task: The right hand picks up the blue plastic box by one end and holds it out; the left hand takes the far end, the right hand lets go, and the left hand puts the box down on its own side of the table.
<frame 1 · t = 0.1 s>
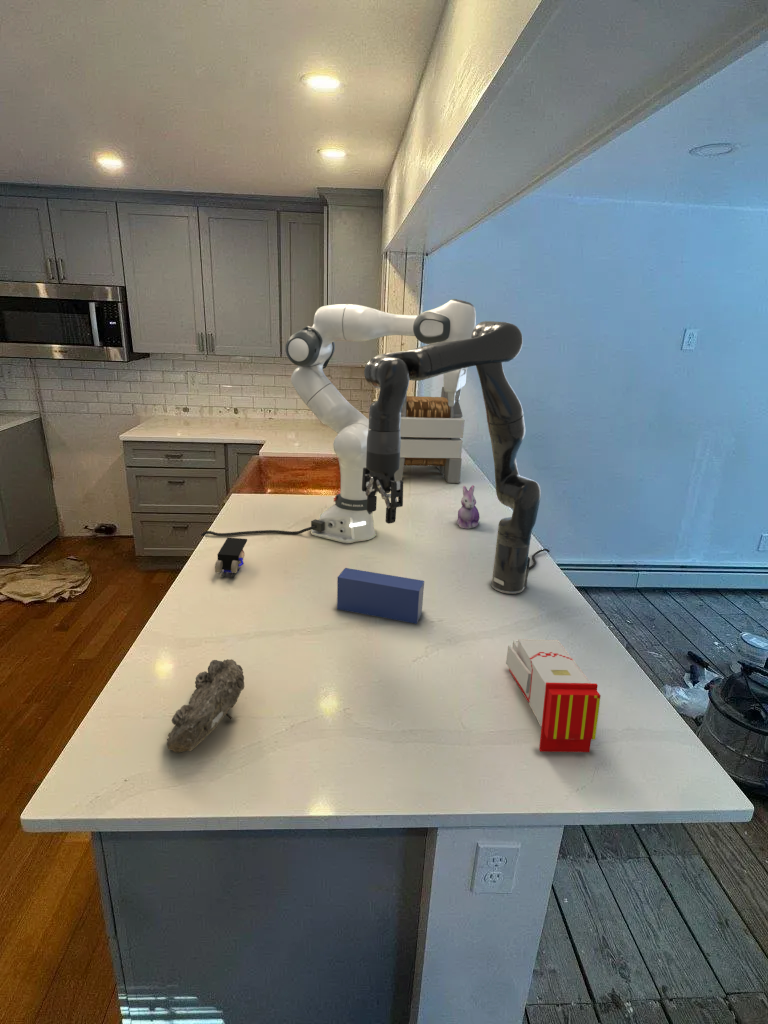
left hand: (453, 403, 174), 48 cm above the counter, tool pointing down, fingers open, 8 cm apart
right hand: (380, 516, 132), 29 cm above the counter, tool pointing down, fingers open, 8 cm apart
box: (379, 611, 149), on the counter
toy: (542, 703, 116), on the counter
fossil: (212, 717, 108), on the counter
figurine: (467, 525, 211), on the counter
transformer: (419, 473, 275), on the counter
figurine character: (232, 569, 168), on the counter
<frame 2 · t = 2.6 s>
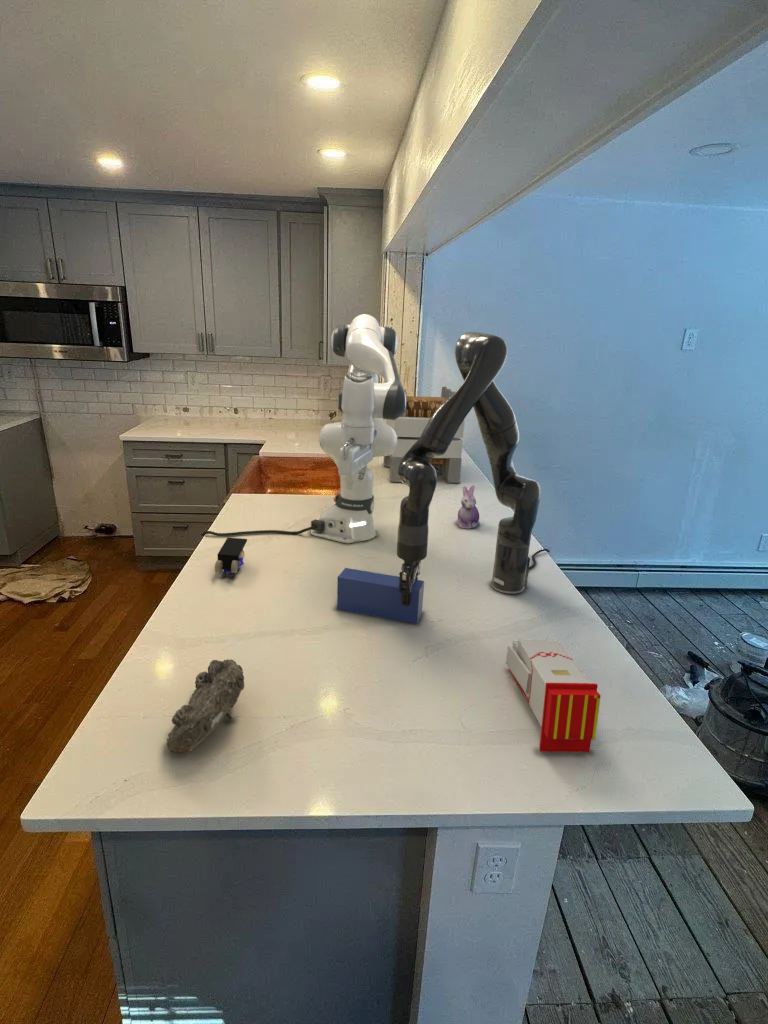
left hand: (356, 484, 157), 29 cm above the counter, tool pointing down, fingers open, 8 cm apart
right hand: (408, 598, 145), 5 cm above the counter, tool pointing down, fingers closed on box, 6 cm apart
box: (379, 611, 149), on the counter, touching right hand
everything else where it was.
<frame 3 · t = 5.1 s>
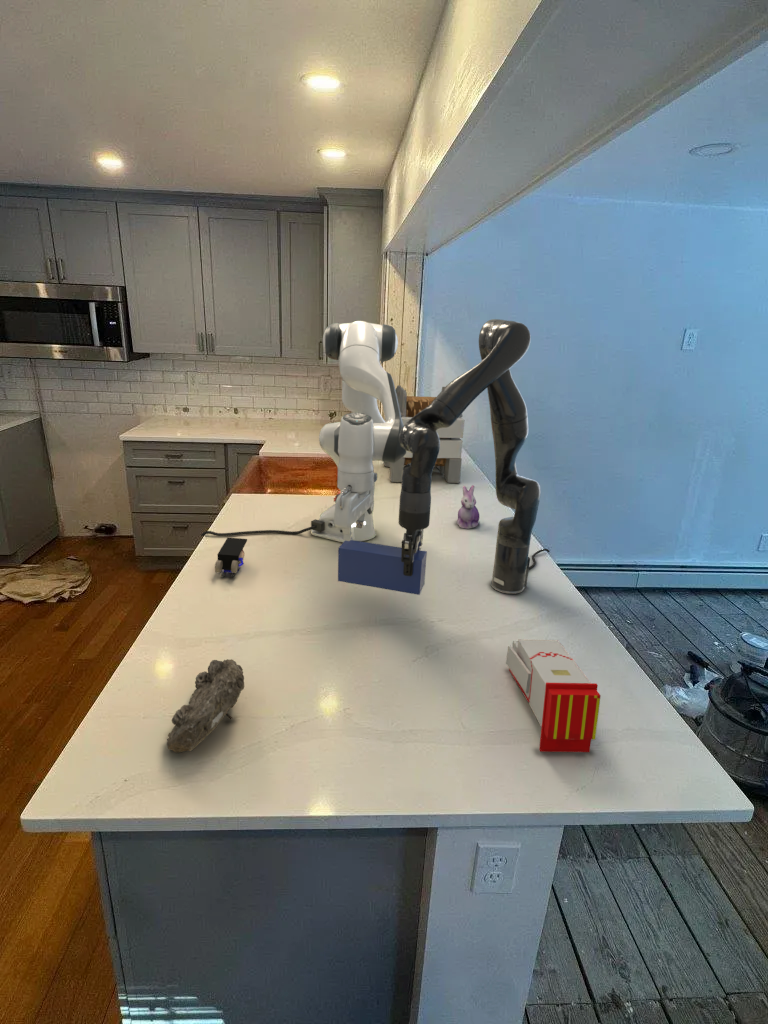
left hand: (353, 533, 143), 21 cm above the counter, tool pointing down, fingers open, 8 cm apart
right hand: (411, 569, 142), 13 cm above the counter, tool pointing down, fingers closed on box, 6 cm apart
box: (381, 582, 146), point 8 cm above the counter, touching right hand
everything else where it was.
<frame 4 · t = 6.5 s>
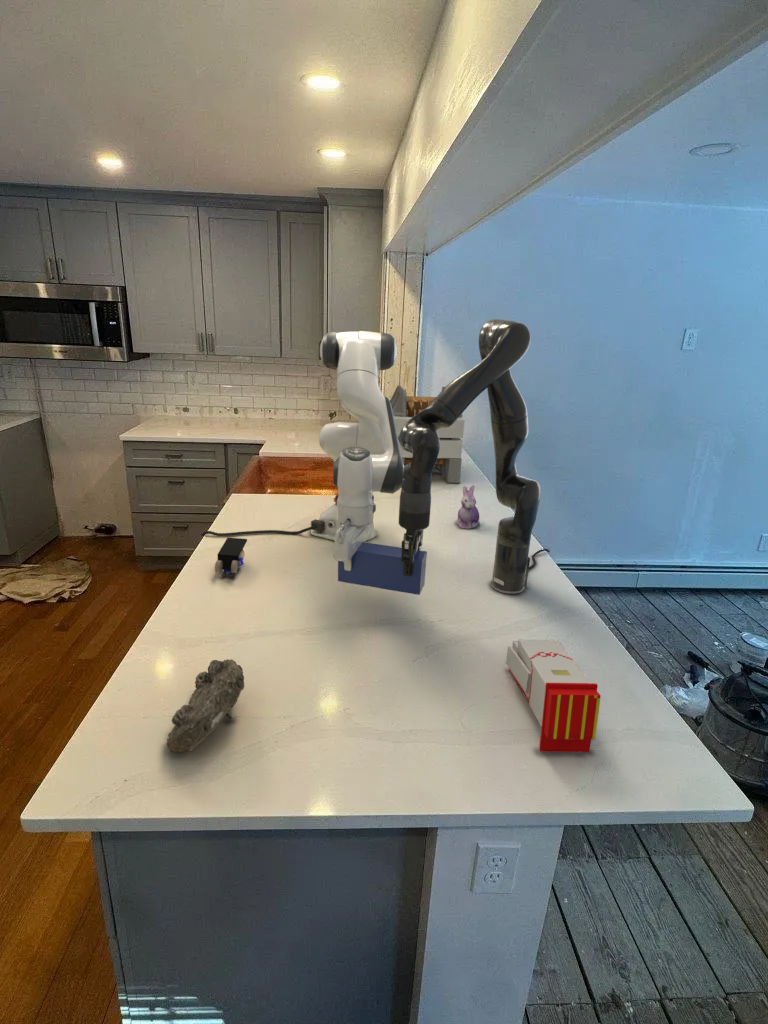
left hand: (353, 563, 146), 12 cm above the counter, tool pointing down, fingers closed on box, 6 cm apart
right hand: (411, 569, 142), 13 cm above the counter, tool pointing down, fingers closed on box, 6 cm apart
box: (381, 583, 146), point 8 cm above the counter, touching left hand, right hand
everything else where it was.
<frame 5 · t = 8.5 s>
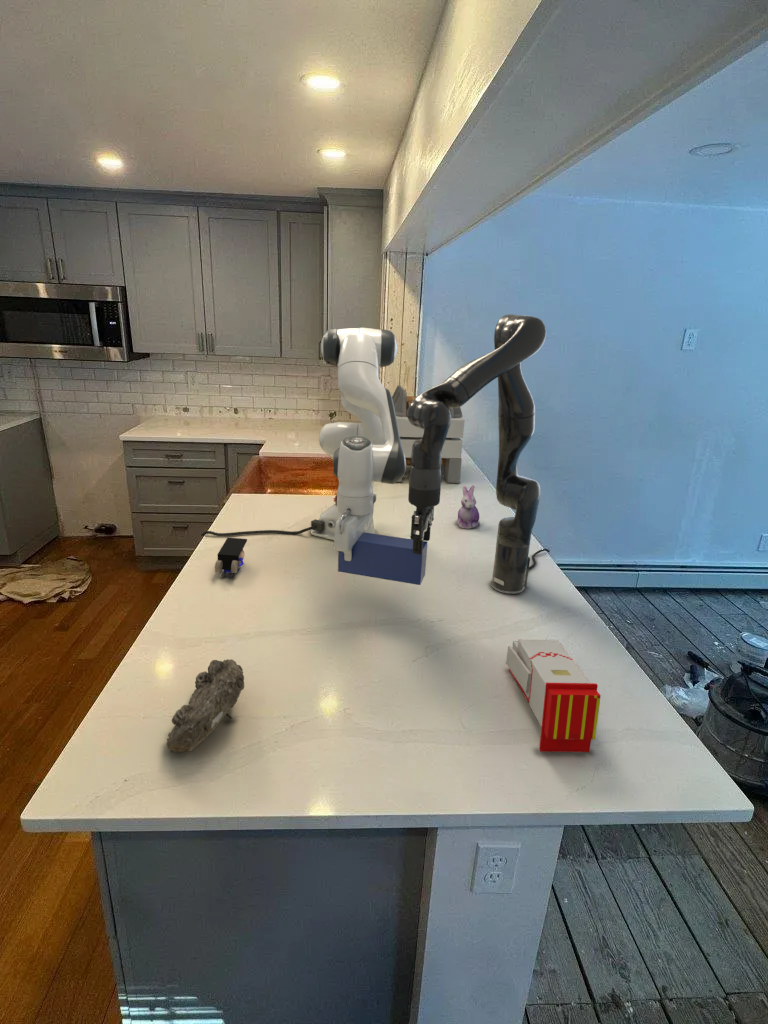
left hand: (353, 554, 145), 15 cm above the counter, tool pointing down, fingers closed on box, 6 cm apart
right hand: (421, 546, 140), 20 cm above the counter, tool pointing down, fingers open, 8 cm apart
box: (381, 573, 145), point 11 cm above the counter, touching left hand
everything else where it was.
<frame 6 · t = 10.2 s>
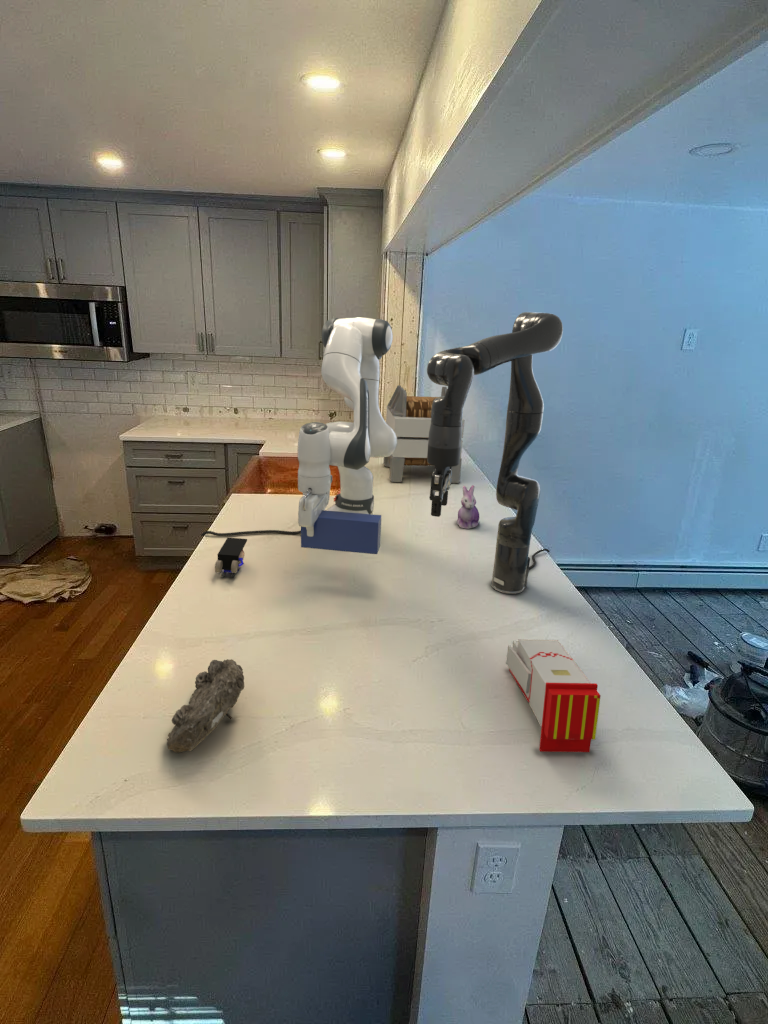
left hand: (314, 530, 159), 15 cm above the counter, tool pointing down, fingers closed on box, 6 cm apart
right hand: (439, 510, 135), 30 cm above the counter, tool pointing down, fingers open, 8 cm apart
box: (341, 546, 159), point 11 cm above the counter, touching left hand
everything else where it was.
when the left hand's fingers open (6 cm above the counter, at t = 11.8 s): box drops 1 cm, on the counter.
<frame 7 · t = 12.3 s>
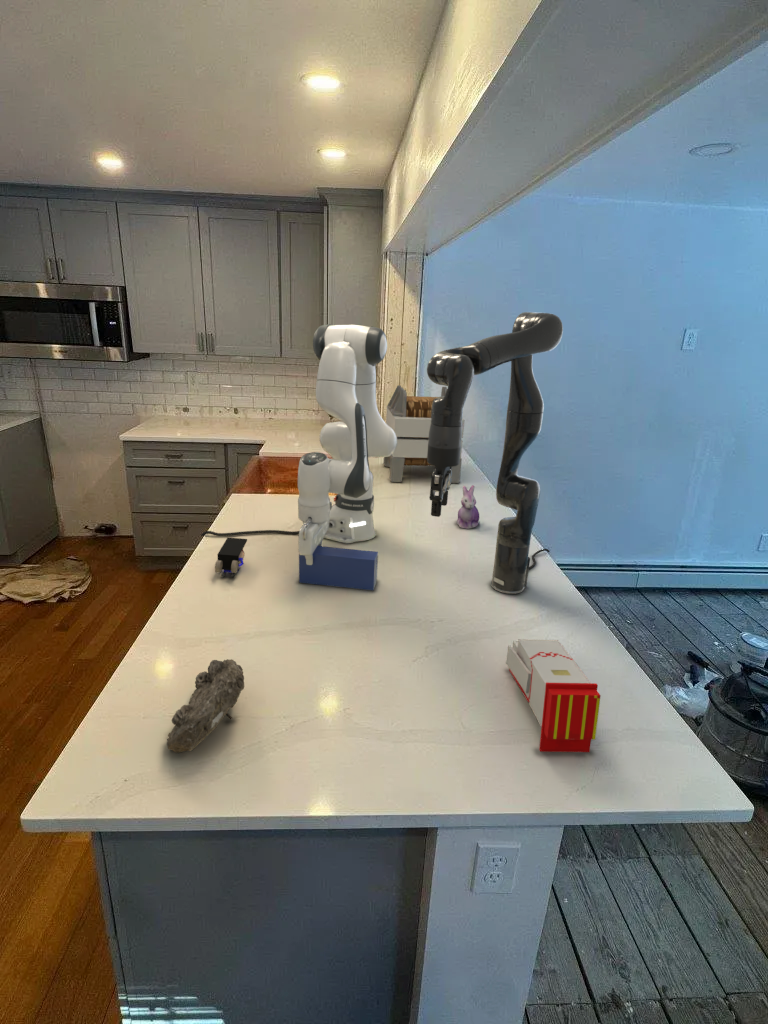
left hand: (314, 556, 162), 7 cm above the counter, tool pointing down, fingers open, 8 cm apart
right hand: (439, 510, 135), 30 cm above the counter, tool pointing down, fingers open, 8 cm apart
box: (338, 581, 163), on the counter
everything else where it was.
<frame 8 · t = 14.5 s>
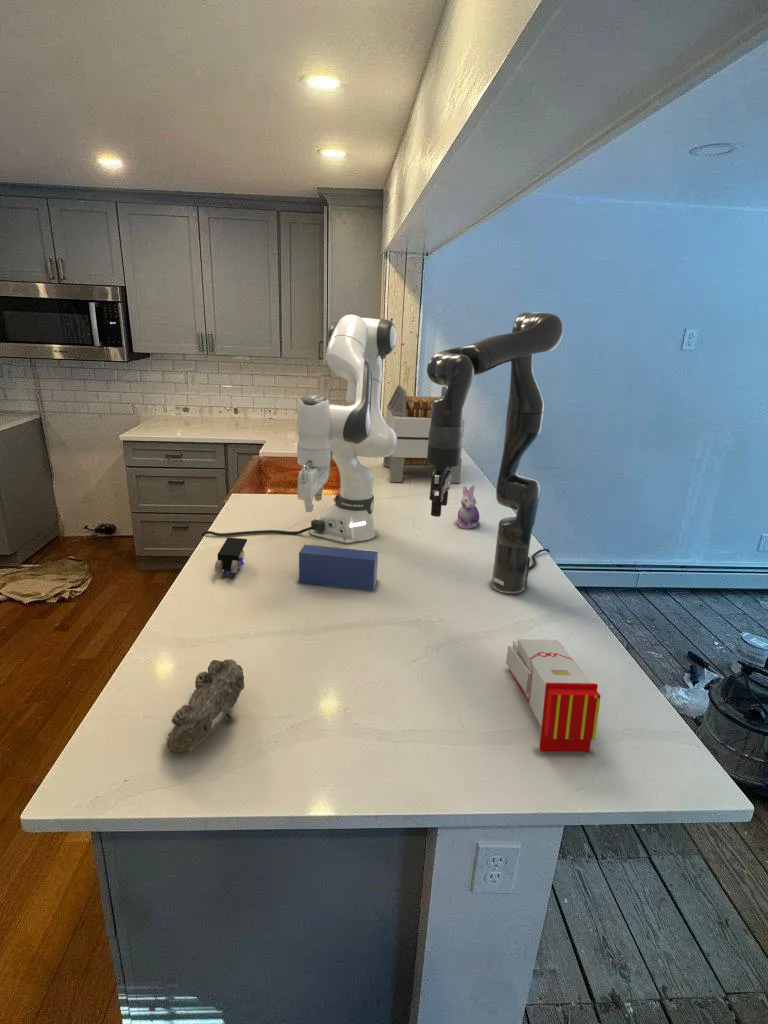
left hand: (313, 505, 156), 23 cm above the counter, tool pointing down, fingers open, 8 cm apart
right hand: (439, 510, 135), 30 cm above the counter, tool pointing down, fingers open, 8 cm apart
nothing on the counter moved.
at the end: box inside the target area (7.2 cm from its centre), on the counter; the left hand is holding nothing; the right hand is holding nothing; box at rest at the end (0.0 cm/s) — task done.
